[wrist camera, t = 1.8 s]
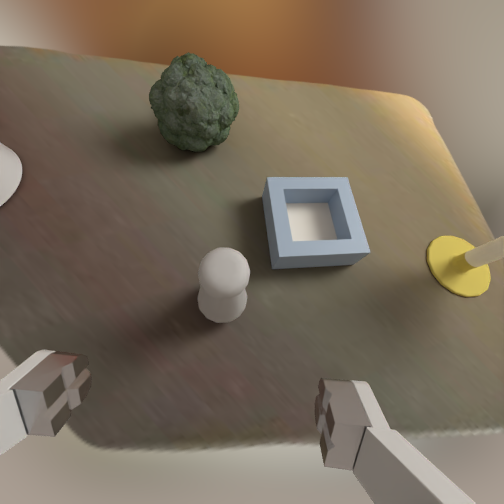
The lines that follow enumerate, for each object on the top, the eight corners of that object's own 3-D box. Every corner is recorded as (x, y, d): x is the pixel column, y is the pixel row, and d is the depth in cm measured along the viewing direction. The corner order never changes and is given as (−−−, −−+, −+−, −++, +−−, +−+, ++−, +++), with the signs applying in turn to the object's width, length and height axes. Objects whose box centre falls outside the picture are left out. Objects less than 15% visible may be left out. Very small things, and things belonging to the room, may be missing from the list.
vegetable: (238, 89, 45) (262, 107, 34) (199, 149, 50) (210, 181, 39) (177, 30, 38) (183, 29, 27) (138, 106, 42) (130, 131, 32)
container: (272, 269, 34) (279, 256, 30) (262, 196, 39) (267, 177, 35) (353, 264, 36) (370, 252, 32) (334, 195, 40) (347, 177, 36)
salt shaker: (189, 299, 31) (171, 262, 19) (225, 271, 33) (228, 222, 21) (219, 336, 30) (219, 320, 18) (254, 304, 32) (275, 272, 20)
